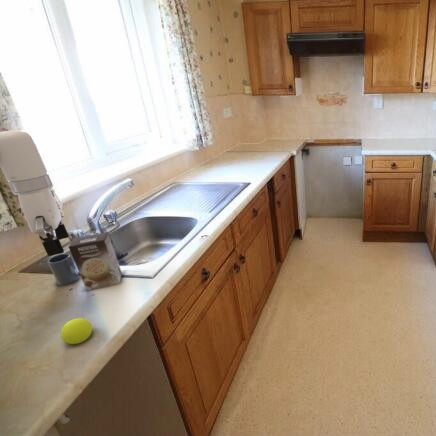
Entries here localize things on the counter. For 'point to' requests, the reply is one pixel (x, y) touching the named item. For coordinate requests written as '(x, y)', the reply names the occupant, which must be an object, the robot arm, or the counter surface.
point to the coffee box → (96, 260)
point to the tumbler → (63, 269)
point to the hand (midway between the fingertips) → (59, 245)
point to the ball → (76, 331)
